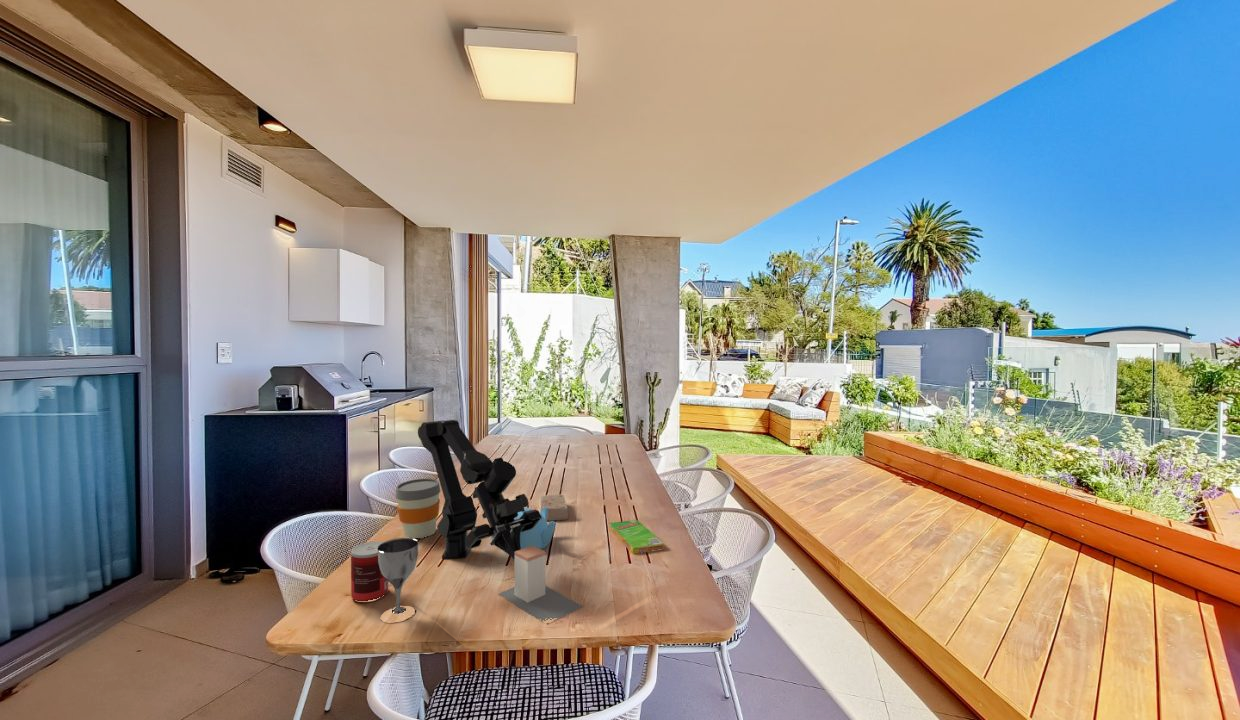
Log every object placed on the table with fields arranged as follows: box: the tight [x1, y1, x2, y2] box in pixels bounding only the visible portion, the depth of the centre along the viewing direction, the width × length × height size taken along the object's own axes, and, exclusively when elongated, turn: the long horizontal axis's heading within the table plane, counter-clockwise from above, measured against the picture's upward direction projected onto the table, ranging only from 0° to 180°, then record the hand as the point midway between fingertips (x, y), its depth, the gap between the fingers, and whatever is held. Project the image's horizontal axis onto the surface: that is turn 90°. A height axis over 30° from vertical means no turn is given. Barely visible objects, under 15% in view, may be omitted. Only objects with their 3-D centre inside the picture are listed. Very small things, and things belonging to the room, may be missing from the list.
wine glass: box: [377, 537, 419, 614], centre depth 105 cm, size 8×8×15 cm
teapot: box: [514, 507, 557, 550], centre depth 142 cm, size 15×15×11 cm
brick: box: [540, 493, 569, 522], centre depth 169 cm, size 17×8×5 cm, turn 12°
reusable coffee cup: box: [395, 478, 441, 539], centre depth 149 cm, size 13×13×15 cm
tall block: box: [513, 545, 547, 603], centre depth 112 cm, size 5×5×10 cm
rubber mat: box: [498, 585, 584, 622], centre depth 110 cm, size 18×10×1 cm, turn 47°
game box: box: [609, 519, 665, 555], centre depth 148 cm, size 3×10×20 cm
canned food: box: [350, 540, 389, 601], centre depth 113 cm, size 8×8×11 cm
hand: (519, 560), depth 115 cm, fingers closed
